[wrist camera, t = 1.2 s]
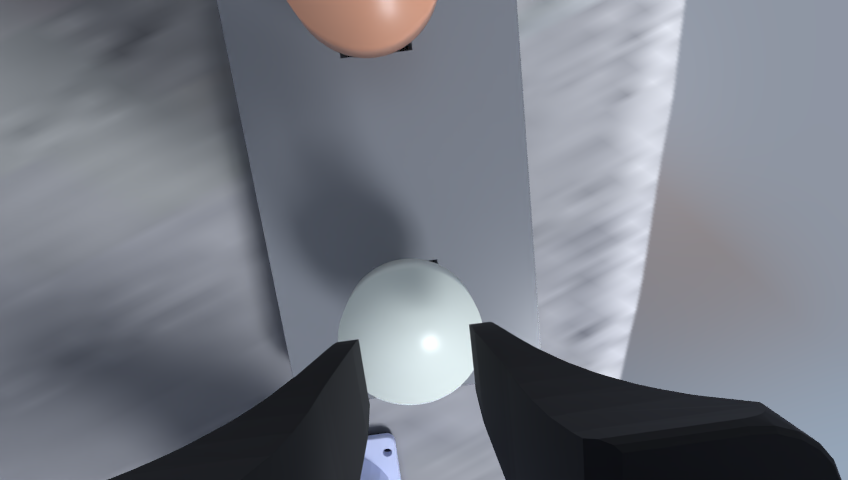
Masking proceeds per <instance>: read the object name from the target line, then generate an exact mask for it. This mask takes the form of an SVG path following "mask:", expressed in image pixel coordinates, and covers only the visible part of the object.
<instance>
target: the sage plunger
mask: <svg viewBox="0 0 848 480" xmlns="http://www.w3.org/2000/svg"><path fill="white" fill-rule="evenodd" d="M476 323H482V320H481V317H480V314H479V311H478V309H477V307H476V305H475V303H474V301H473V299H472V297H471V295H470V294H469V292H468V290H467V288H466V287H465V285H464V284H463V283H462V282H461V280H460V279H459V278H458V277H457V276H456V275H455V274H453V273H452V272H451V271H449V270H448V269H446V268H445V267H443V266H441V265H439V264H437V263H434V262H431V261H428V260H422V259H412V258H410V259H400V260H394V261H391V262H388V263H385V264H383V265H381V266H379V267H377V268H375V269H374V270H372V271H371V272H369V273H368V274H367V275H366V276H365V277H363V278H362V280H361V281H360V282H359V283H358V284H357V285H356V287H355V288H354V290H353V291H352V293H351V296H350V298H349V300H348V302H347V305H346V307H345V310H344V312H343V315H342V318H341V321H340V325H339V330H338V342H341V341H349V340H356V339H359V344H360V350H361V356H362V362H363V368H364V374H365V380H366V386H367V392H368V393H369V394H371V395H373V396H374V397H376V398H378V399H381V400H383V401H386V402H390V403H394V404H400V405H418V404H424V403H429V402H432V401H435V400H438V399H440V398H443V397H445V396H447V395H448V394H450V393H452V392H453V391H455V390H456V389H457V388H458V387H460V386H461V385H462V384H463V383H464V382H465V381H466V380H467V379H468V377H469V376H470V374H471V373H472V372H473V370H474V368H473V358H472V349H471V339H470V329H469V324H476Z"/></svg>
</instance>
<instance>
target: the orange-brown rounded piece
mask: <svg viewBox="0 0 848 480" xmlns="http://www.w3.org/2000/svg"><path fill="white" fill-rule="evenodd" d="M287 2H288V3H289V5H290V6H291V8H292V9H293V11H294V12H295V14H296V15H297V16H298V18H299V19H300V21H301V22H302V24H303V25H304V26H305V27H306V29H307V30H308V31H309V32H310V33H311V34H312V35H313V36H314V37H315V38H316V39H317V40H318V41H320V42H321V43H322V44H324V45H325V46H327V47H329V48H330V49H332V50H334V51H336V52H339V53H341V54H344V55H347V56H352V57H357V58H376V57H381V56H386V55H389V54H392V53H394V52H396V51H398V50H400V49H402V48H404V47H405V46H406V45H408V44H409V43H411V42H412V41H413V40H414V39H415V38H416V37H417V36H418V35H419V34H420V33H421V31H422V30H423V29H424V28H425V26H426V25H427V23H428V21H429V20H430V18H431V16H432V14H433V11H434V9H435V6H436V3H437V0H287Z"/></svg>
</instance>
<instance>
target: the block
mask: <svg viewBox="0 0 848 480" xmlns="http://www.w3.org/2000/svg"><path fill="white" fill-rule="evenodd" d="M217 5H218V10H219V15H220V20H221V25H222V30H223V34H224V39H225V44H226V49H227V54H228V59H229V64H230V69H231V74H232V79H233V84H234V89H235V94H236V99H237V103H238V108H239V113H240V118H241V123H242V128H243V133H244V138H245V143H246V148H247V153H248V158H249V163H250V168H251V172H252V177H253V182H254V187H255V192H256V197H257V202H258V207H259V212H260V217H261V222H262V227H263V232H264V237H265V241H266V246H267V251H268V256H269V261H270V266H271V271H272V276H273V281H274V286H275V291H276V296H277V301H278V306H279V310H280V315H281V320H282V325H283V330H284V335H285V340H286V345H287V350H288V355H289V360H290V365H291V370H292V375H293V378H294V377H295V376H296V375H298V374H299V373H300V372H301V371H302V370H304V369H305V368H306V367H307V366H308V365H309V364H311V363H312V362H313V361H314V360H315V359H316V358H318V357H319V356H320V355H321V354H322V353H323V352H325V351H326V350H327V349H328V348H329V347H331V346H332V345H333V344H335V343H336V342H338V330H339V325H340V321H341V318H342V315H343V312H344V310H345V307H346V305H347V302H348V300H349V298H350V296H351V293H352V291H353V290H354V288H355V287H356V285H357V284H358V283H359V282H360V281H361V280H362V278H363V277H365V276H366V275H367V274H368V273H369V272H371V271H372V270H374V269H375V268H377V267H379V266H381V265H383V264H385V263H388V262H391V261H394V260H400V259H410V258H412V259H422V260H434V263H437V264H439V265H441V266H443V267H445V268H446V269H448V270H449V271H451V272H452V273H453V274H455V275H456V276H457V277H458V278H459V279H460V280H461V282H462V283H463V284H464V285H465V287H466V288H467V290H468V292H469V294H470V295H471V297H472V299H473V301H474V303H475V305H476V307H477V309H478V311H479V314H480V317H481V320H482V323H484V322H493V323H495V324H496V325H498V326H500V327H501V328H503V329H505V330H506V331H508V332H510V333H511V334H513V335H515V336H516V337H518V338H520V339H522V340H523V341H525V342H527V343H529V344H530V345H532V346H534V347H536V348H538V349H540V350H541V344H540V330H539V316H538V301H537V287H536V273H535V258H534V244H533V230H532V215H531V201H530V187H529V172H528V158H527V144H526V129H525V115H524V101H523V86H522V72H521V58H520V43H519V29H518V15H517V0H437V3H436V6H435V9H434V11H433V14H432V16H431V18H430V20H429V21H428V23H427V25H426V26H425V28H424V29H423V30H422V31H421V33H420V34H419V35H418V36H417V37H416V38H415V39H414V40H413V41H412V42H411V43H409V44H408V47H409V51H400V52H394V53H392V54H389V55H386V56H381V57H376V58H357V57H348V58H347V55H344V54H341V53H339V52H336V51H334V50H332V49H330V48H329V47H327V46H325V45H324V44H322V43H321V42H320V41H318V40H317V39H316V38H315V37H314V36H313V35H312V34H311V33H310V32H309V31H308V30H307V29H306V27H305V26H304V25H303V24H302V22H301V21H300V19H299V18H298V16H297V15H296V14H295V12H294V11H293V9H292V8H291V6H290V5H289V3H288V2H287V0H217ZM471 384H475V377H474V370H473V372H472V373H471V374H470V376H469V377H468V379H467V380H466V381H465V382H464V383H463V384H462V385H461V386H464V385H471ZM368 398H369V399H373V398H376V397H374V396H373V395H371V394H369V393H368Z"/></svg>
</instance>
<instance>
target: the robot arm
mask: <svg viewBox="0 0 848 480" xmlns="http://www.w3.org/2000/svg"><path fill="white" fill-rule="evenodd" d="M469 329H470V339H471V349H472V358H473V368H474V377H475V387H476V393H477V397H478V401H479V405H480V409H481V413H482V417H483V421H484V424H485V427H486V430H487V432H488V435H489V437H490V440H491V443H492V445H493V448H494V451H495V453H496V456H497V458H498V461H499V463H500V466H501V469H502V471H503V474H504V476H505V479H506V480H841V477H840V475H839V473H838V469H837V467H836V464H835V462H834V459H833V458H832V457H831V456H830V455H829V454H828V452H827V451H826V450H825V449H824V448H823V447H822V445H821V444H820V443H819V442H817V441H815V440H814V439H813V438H811V437H810V436H808V435H807V434H806V433H804V432H803V431H801V430H800V429H798V428H796V427H795V426H794V425H792V424H791V423H790V422H788V421H787V420H785V419H784V418H782V417H780V416H779V415H778V414H777V413H775V412H774V411H772V410H771V409H769V408H768V407H766V406H765V405H763V404H762V403H760V402H752V401H743V400H734V399H725V398H716V397H706V396H698V395H690V394H684V393H679V392H674V391H668V390H662V389H657V388H652V387H647V386H642V385H638V384H634V383H630V382H627V381H623V380H619V379H615V378H612V377H608V376H605V375H601V374H598V373H595V372H592V371H589V370H587V369H584V368H581V367H579V366H576V365H573V364H570V363H568V362H566V361H563V360H561V359H559V358H557V357H554V356H552V355H550V354H548V353H546V352H544V351H542V350H540V349H538V348H536V347H534V346H532V345H530V344H529V343H527V342H525V341H523V340H522V339H520V338H518V337H516V336H515V335H513V334H511V333H510V332H508V331H506V330H505V329H503V328H501V327H500V326H498V325H496V324H495V323H493V322H484V323H476V324H469ZM369 408H370V404H369V398H368V392H367V386H366V380H365V374H364V368H363V362H362V356H361V350H360V344H359V339H356V340H349V341H341V342H336V343H335V344H333V345H332V346H331V347H329V348H328V349H327V350H326V351H325V352H323V353H322V354H321V355H320V356H319V357H318V358H316V359H315V360H314V361H313V362H312V363H311V364H309V365H308V366H307V367H306V368H305V369H304V370H302V371H301V372H300V373H299V374H298V375H296V376H295V377H294V378H293V379H291V380H290V381H289V382H287V383H286V384H285V385H284V386H282V387H281V388H280V389H278V390H277V391H276V392H275V393H273V394H272V395H271V396H269V397H268V398H266V399H265V400H264V401H262V402H261V403H259V404H258V405H256V406H255V407H253V408H252V409H250V410H249V411H247V412H245V413H244V414H242V415H241V416H239V417H238V418H236V419H234V420H233V421H231V422H229V423H228V424H226V425H224V426H222V427H220V428H218V429H216V430H215V431H213V432H211V433H209V434H207V435H205V436H203V437H202V438H200V439H198V440H196V441H194V442H192V443H190V444H188V445H186V446H184V447H182V448H180V449H178V450H176V451H174V452H172V453H170V454H167V455H165V456H163V457H161V458H159V459H157V460H154V461H152V462H150V463H147V464H145V465H143V466H140V467H138V468H136V469H133V470H131V471H129V472H126V473H124V474H121V475H119V476H116V477H114V478H111V479H108V480H401V475H400V468H399V462H398V455H397V449H396V442H395V438H394V436H393V435H392V434H389V433H383V434H376V435H369V436H368V427H369ZM384 449H390V450H391V451H389V452H386V451H384Z"/></svg>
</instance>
